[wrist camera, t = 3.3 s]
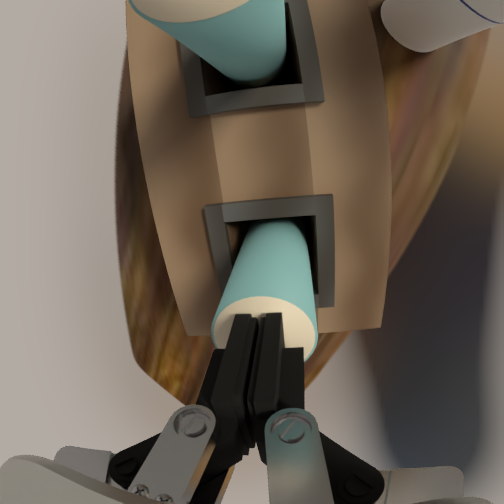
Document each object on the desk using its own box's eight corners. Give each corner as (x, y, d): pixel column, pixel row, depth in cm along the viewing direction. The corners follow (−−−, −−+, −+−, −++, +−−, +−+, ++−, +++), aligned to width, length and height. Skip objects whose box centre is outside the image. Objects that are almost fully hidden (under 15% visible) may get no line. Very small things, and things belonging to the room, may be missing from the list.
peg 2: (247, 205, 21) (200, 296, 10) (302, 200, 20) (317, 291, 9) (254, 255, 22) (221, 373, 11) (306, 251, 22) (317, 372, 11)
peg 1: (219, 39, 14) (127, -54, 3) (281, 30, 14) (268, -90, 3) (226, 93, 16) (128, 46, 5) (290, 85, 15) (294, 9, 4)
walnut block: (220, 263, 31) (184, 339, 20) (186, 41, 22) (121, -2, 10) (351, 255, 29) (382, 331, 18) (330, 23, 19) (356, -41, 8)
